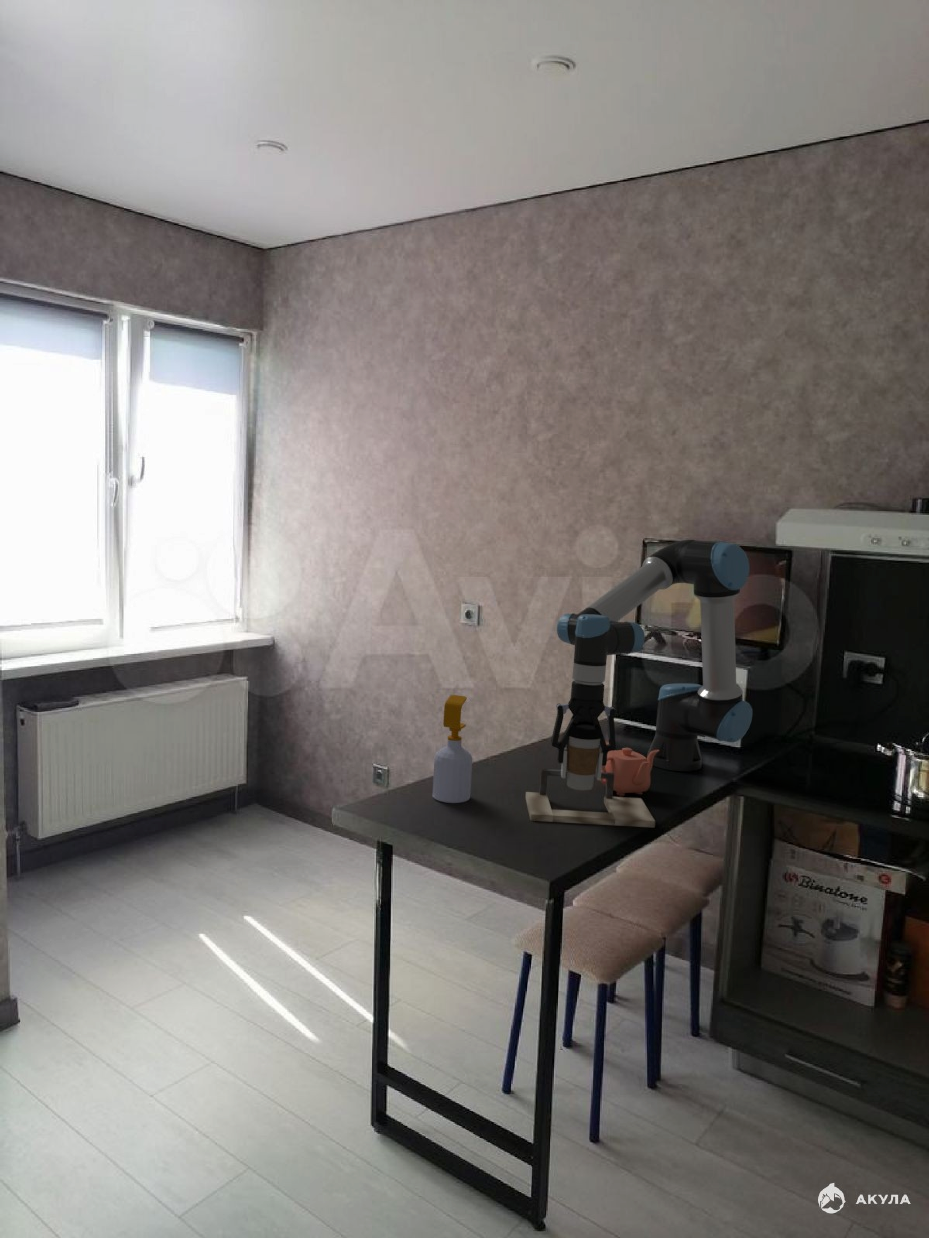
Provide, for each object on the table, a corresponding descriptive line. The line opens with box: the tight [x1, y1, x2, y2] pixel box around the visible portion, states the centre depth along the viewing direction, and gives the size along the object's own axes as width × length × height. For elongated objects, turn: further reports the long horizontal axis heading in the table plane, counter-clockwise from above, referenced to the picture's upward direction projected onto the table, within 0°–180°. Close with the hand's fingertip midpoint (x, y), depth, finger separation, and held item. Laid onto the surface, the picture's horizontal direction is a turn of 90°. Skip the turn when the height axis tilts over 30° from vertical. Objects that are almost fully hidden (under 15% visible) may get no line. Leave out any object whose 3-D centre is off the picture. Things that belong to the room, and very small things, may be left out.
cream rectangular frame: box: [525, 768, 656, 828], centre depth 212 cm, size 28×16×8 cm, turn 90°
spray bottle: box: [431, 694, 473, 804], centre depth 216 cm, size 9×9×25 cm
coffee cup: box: [566, 721, 602, 791], centre depth 212 cm, size 8×8×15 cm
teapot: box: [599, 740, 659, 797], centre depth 230 cm, size 14×14×11 cm
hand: (580, 777), depth 213 cm, fingers closed on coffee cup, 8 cm apart
